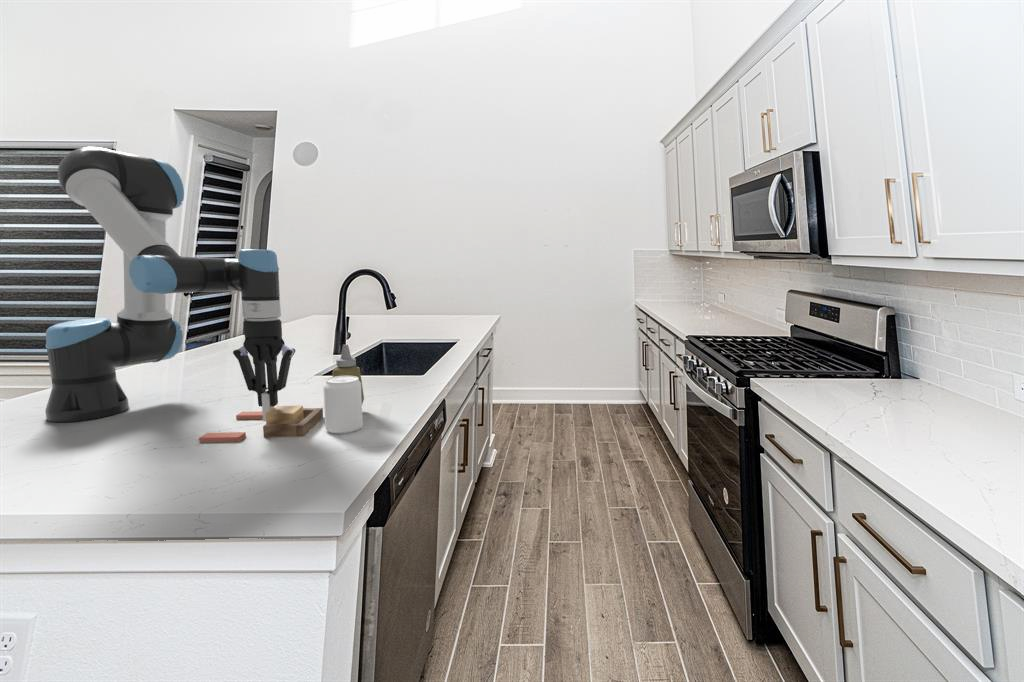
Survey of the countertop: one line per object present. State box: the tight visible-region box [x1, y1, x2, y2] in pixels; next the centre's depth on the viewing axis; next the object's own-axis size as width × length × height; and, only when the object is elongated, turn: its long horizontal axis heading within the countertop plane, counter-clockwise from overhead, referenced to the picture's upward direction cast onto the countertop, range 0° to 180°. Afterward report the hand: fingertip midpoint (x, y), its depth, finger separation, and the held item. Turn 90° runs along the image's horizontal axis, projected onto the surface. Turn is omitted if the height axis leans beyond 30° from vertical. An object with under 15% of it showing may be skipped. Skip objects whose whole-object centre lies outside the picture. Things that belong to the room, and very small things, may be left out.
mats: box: [198, 410, 263, 443], centre depth 104 cm, size 8×18×1 cm, turn 5°
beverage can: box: [322, 376, 363, 435], centre depth 103 cm, size 8×8×12 cm
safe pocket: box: [262, 407, 324, 438], centre depth 105 cm, size 8×13×2 cm, turn 5°
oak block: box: [265, 405, 304, 424], centre depth 104 cm, size 6×6×4 cm
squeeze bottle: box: [331, 344, 365, 405], centre depth 114 cm, size 8×8×18 cm
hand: (269, 419), depth 104 cm, fingers closed
